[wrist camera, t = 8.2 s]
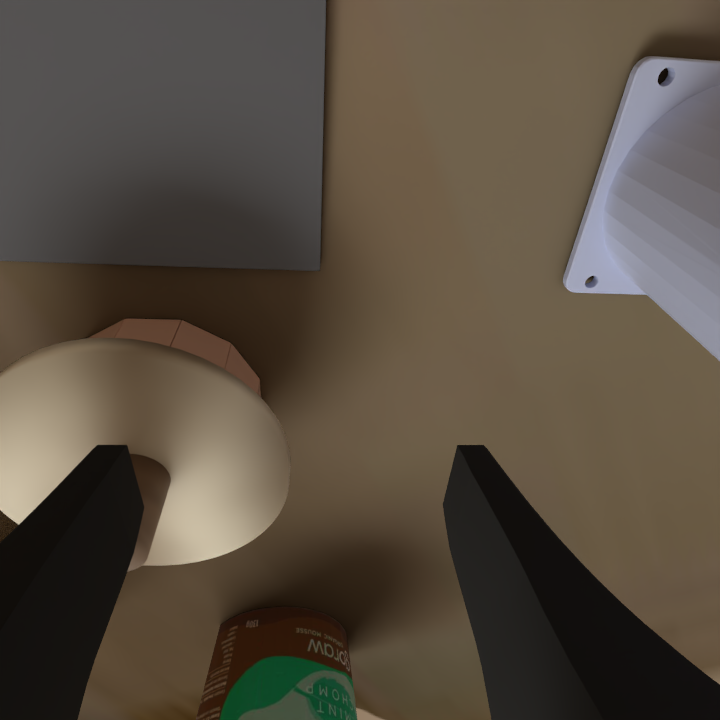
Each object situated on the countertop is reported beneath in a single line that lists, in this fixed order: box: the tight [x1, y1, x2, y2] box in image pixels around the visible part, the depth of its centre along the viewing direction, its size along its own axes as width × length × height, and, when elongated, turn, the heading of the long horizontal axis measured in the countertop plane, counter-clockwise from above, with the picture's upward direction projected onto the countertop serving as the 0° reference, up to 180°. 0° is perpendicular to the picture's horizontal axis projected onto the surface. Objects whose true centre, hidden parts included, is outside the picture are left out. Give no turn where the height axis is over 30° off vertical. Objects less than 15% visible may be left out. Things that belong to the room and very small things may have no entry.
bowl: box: [89, 319, 261, 397], centre depth 21 cm, size 8×8×4 cm
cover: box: [0, 338, 291, 571], centre depth 17 cm, size 11×11×4 cm
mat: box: [0, 0, 326, 271], centre depth 15 cm, size 13×13×1 cm
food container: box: [196, 607, 357, 720], centre depth 30 cm, size 12×6×10 cm, turn 50°
